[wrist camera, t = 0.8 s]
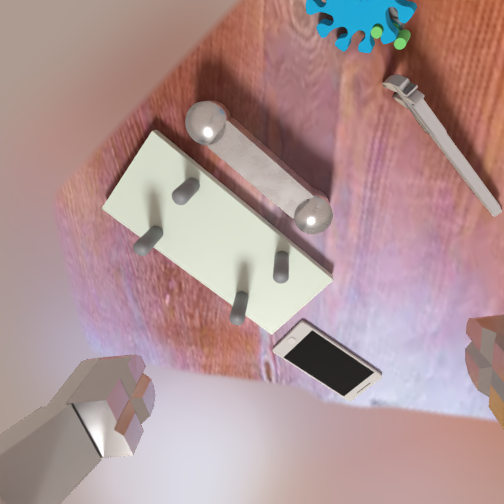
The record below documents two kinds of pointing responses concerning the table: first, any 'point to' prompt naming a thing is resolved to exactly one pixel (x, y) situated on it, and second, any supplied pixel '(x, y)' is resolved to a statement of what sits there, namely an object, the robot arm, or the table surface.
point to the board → (213, 235)
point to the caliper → (439, 137)
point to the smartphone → (326, 361)
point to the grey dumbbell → (258, 165)
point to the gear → (365, 20)
